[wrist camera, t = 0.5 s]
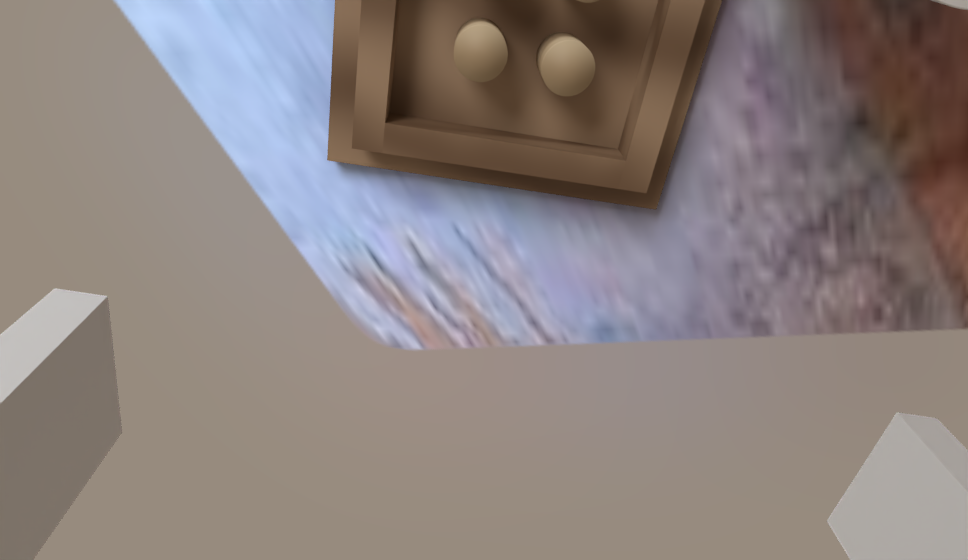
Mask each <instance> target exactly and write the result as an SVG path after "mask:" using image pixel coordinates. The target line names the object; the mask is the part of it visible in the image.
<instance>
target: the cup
mask: <svg viewBox="0 0 968 560" xmlns="http://www.w3.org/2000/svg"><path fill="white" fill-rule="evenodd" d="M931 1H934V2H937V3H940V4H944V5H947V6H950V7H954V8H958V9H964V10H968V0H931Z"/></svg>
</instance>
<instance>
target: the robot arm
mask: <svg viewBox="0 0 968 560" xmlns="http://www.w3.org/2000/svg"><path fill="white" fill-rule="evenodd" d="M118 399H119V398H118V389H117V379H116V370H115V360H114V351H113V341H112V333H111V322H110V313H109V304H108V296H103V295H96V294H90V293H83V292H76V291H69V290H62V289H56V288H55V289H53V290H52V291H51V292H50V293H49V294H47V295H46V296H45V297H44V298H43V299H42V300H41V301H39V302H38V303H37V304H36V305H35V306H33V308H31V309H30V310H29V311H28V312H26V313H25V314H24V315H23V316H22V317H21V318H19V319H18V320H17V321H16V322H15V323H14V324H12V325H11V326H10V327H9V328H8V329H6V330H5V331H4V332H3V333H2V334H1V335H0V560H33V559H34V558H35V556H36V555H37V554H38V552H39V551H40V549H41V548H42V546H43V545H44V544H45V542H46V541H47V539H48V537H49V536H50V535H51V533H52V532H53V531H54V529H55V528H56V526H57V525H58V524H59V522H60V521H61V519H62V518H63V516H64V515H65V514H66V512H67V511H68V509H69V508H70V506H71V505H72V503H73V502H74V501H75V499H76V498H77V496H78V495H79V493H80V492H81V491H82V489H83V488H84V486H85V485H86V483H87V482H88V480H89V479H90V478H91V476H92V475H93V473H94V472H95V470H96V469H97V467H98V466H99V465H100V463H101V462H102V460H103V459H104V458H105V456H106V455H107V453H108V452H109V450H110V449H111V447H112V446H113V445H114V443H115V442H116V440H117V439H118V438H119V436H120V435H121V433H122V426H121V417H120V407H119V400H118ZM827 522H828V524H829V525H830V527H831V529H832V530H833V532H834V534H835V535H836V537H837V539H838V540H839V542H840V543H841V545H842V547H843V549H844V550H845V552H846V553H847V555H848V557H849V558H850V560H968V450H967V449H966V448H965V447H964V446H963V445H962V444H961V443H960V442H959V441H958V440H957V439H956V438H955V437H954V436H953V434H951V432H950V431H949V430H948V429H947V428H946V427H945V426H944V425H943V424H942V423H941V422H940V421H939V420H938V419H937V418H932V417H925V416H919V415H912V414H905V413H898V412H897V413H896V414H895V416H894V418H893V419H892V421H891V422H890V424H889V426H888V427H887V428H886V430H885V432H884V433H883V435H882V436H881V438H880V439H879V441H878V443H877V444H876V446H875V447H874V449H873V450H872V452H871V453H870V455H869V457H868V458H867V460H866V461H865V463H864V464H863V466H862V467H861V469H860V470H859V472H858V474H857V475H856V477H855V478H854V480H853V481H852V483H851V484H850V486H849V487H848V489H847V491H846V492H845V494H844V495H843V497H842V498H841V500H840V501H839V503H838V505H837V506H836V508H835V510H834V511H833V512H832V514H831V515H830V517H829V519H828V520H827Z"/></svg>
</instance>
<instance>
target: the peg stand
mask: <svg viewBox="0 0 968 560" xmlns="http://www.w3.org/2000/svg"><path fill="white" fill-rule="evenodd" d="M721 2H722V0H335V14H334V34H333V55H332V76H331V97H330V118H329V138H328V159H327V160H329V161H336V162H343V163H349V164H356V165H363V166H369V167H376V168H383V169H389V170H396V171H403V172H409V173H416V174H423V175H429V176H436V177H443V178H449V179H456V180H463V181H469V182H476V183H483V184H489V185H496V186H503V187H509V188H516V189H523V190H529V191H536V192H543V193H549V194H556V195H563V196H569V197H576V198H583V199H589V200H596V201H603V202H609V203H616V204H622V205H629V206H636V207H642V208H649V209H657V205H658V202H659V199H660V196H661V193H662V190H663V186H664V183H665V180H666V177H667V174H668V171H669V167H670V164H671V161H672V158H673V155H674V152H675V148H676V145H677V142H678V139H679V136H680V133H681V129H682V126H683V123H684V120H685V117H686V113H687V110H688V107H689V104H690V101H691V98H692V94H693V91H694V88H695V85H696V82H697V79H698V75H699V72H700V69H701V66H702V63H703V60H704V56H705V53H706V50H707V47H708V44H709V41H710V37H711V34H712V31H713V28H714V25H715V22H716V18H717V15H718V12H719V9H720V6H721Z"/></svg>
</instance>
